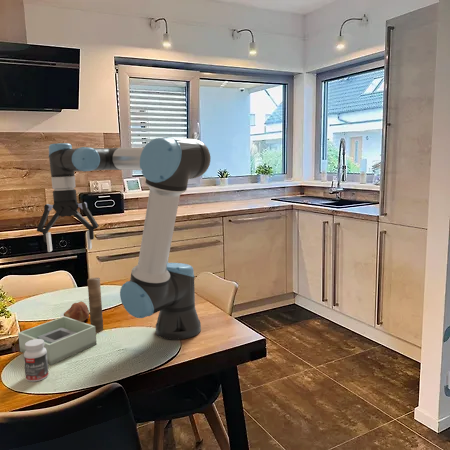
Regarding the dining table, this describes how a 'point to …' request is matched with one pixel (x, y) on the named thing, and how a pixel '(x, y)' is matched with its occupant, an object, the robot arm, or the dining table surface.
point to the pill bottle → (35, 360)
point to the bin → (60, 337)
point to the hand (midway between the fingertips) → (70, 250)
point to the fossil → (78, 312)
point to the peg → (95, 303)
